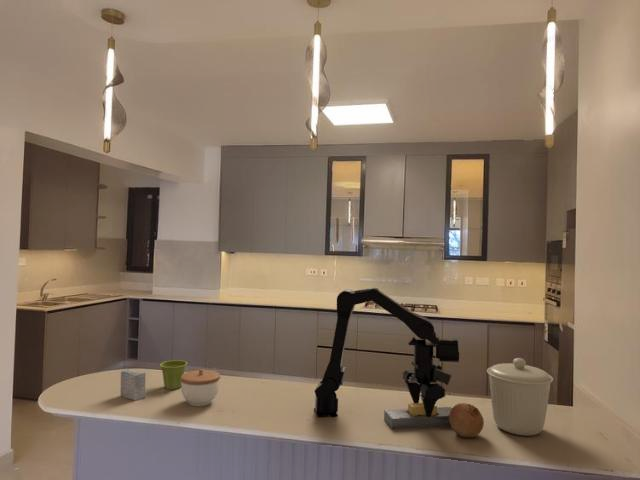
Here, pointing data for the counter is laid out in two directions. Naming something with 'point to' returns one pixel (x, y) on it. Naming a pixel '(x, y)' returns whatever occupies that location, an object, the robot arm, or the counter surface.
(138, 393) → the medicine box
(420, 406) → the yellow rectangular block
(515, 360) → the canister
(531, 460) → the counter surface
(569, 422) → the counter surface
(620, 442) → the counter surface
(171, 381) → the plant pot
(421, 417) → the rail
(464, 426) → the onion
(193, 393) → the lidded bowl
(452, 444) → the counter surface
